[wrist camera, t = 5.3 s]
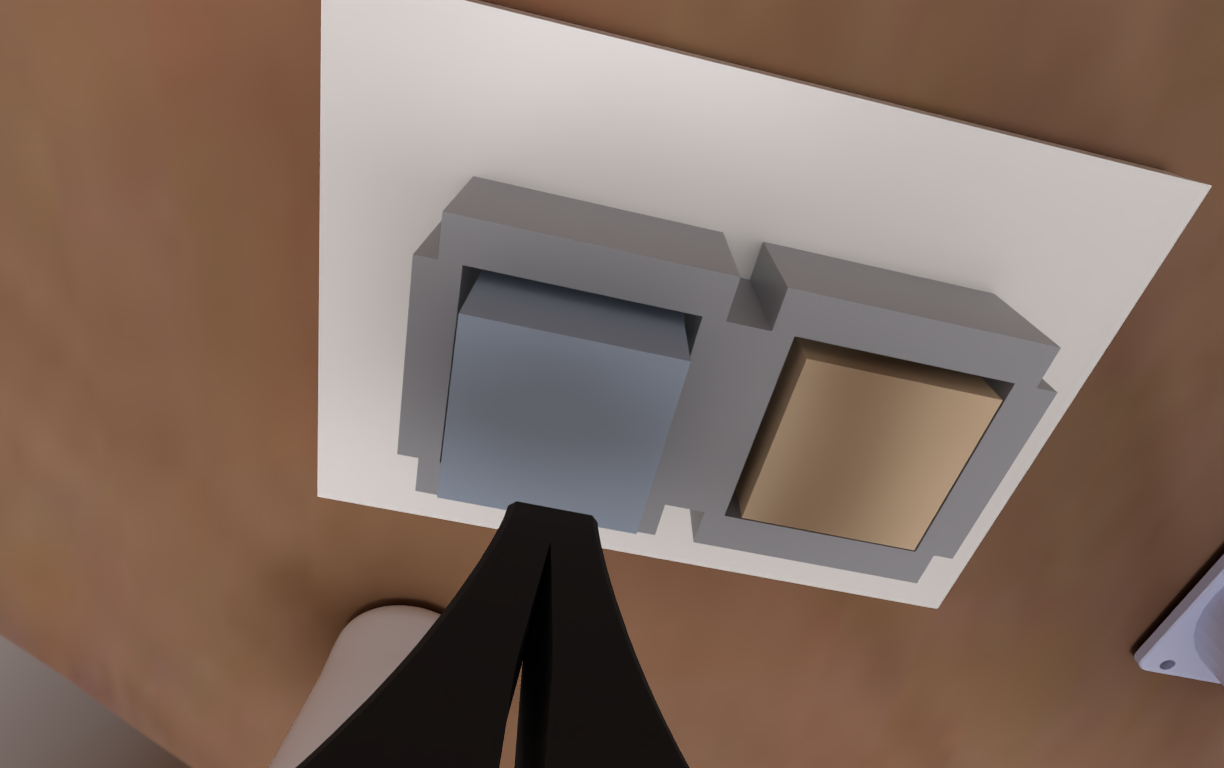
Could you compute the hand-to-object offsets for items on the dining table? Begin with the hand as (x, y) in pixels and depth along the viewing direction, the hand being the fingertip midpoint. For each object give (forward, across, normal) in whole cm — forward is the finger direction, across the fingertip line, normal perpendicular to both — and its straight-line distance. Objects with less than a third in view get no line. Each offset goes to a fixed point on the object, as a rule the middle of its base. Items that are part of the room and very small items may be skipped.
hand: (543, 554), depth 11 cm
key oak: (+7, -7, 0) cm, 10 cm away
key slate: (+6, 0, 0) cm, 6 cm away
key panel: (+9, -3, 0) cm, 10 cm away
